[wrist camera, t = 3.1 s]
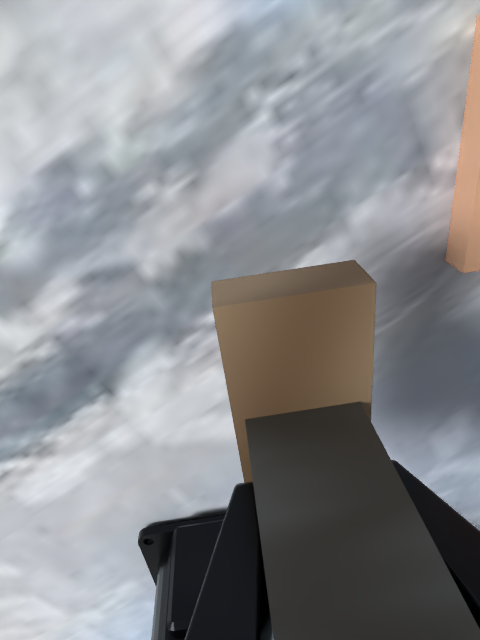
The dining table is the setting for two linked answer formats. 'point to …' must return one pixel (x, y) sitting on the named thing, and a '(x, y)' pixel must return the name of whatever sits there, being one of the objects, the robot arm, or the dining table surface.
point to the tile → (468, 178)
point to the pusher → (327, 464)
